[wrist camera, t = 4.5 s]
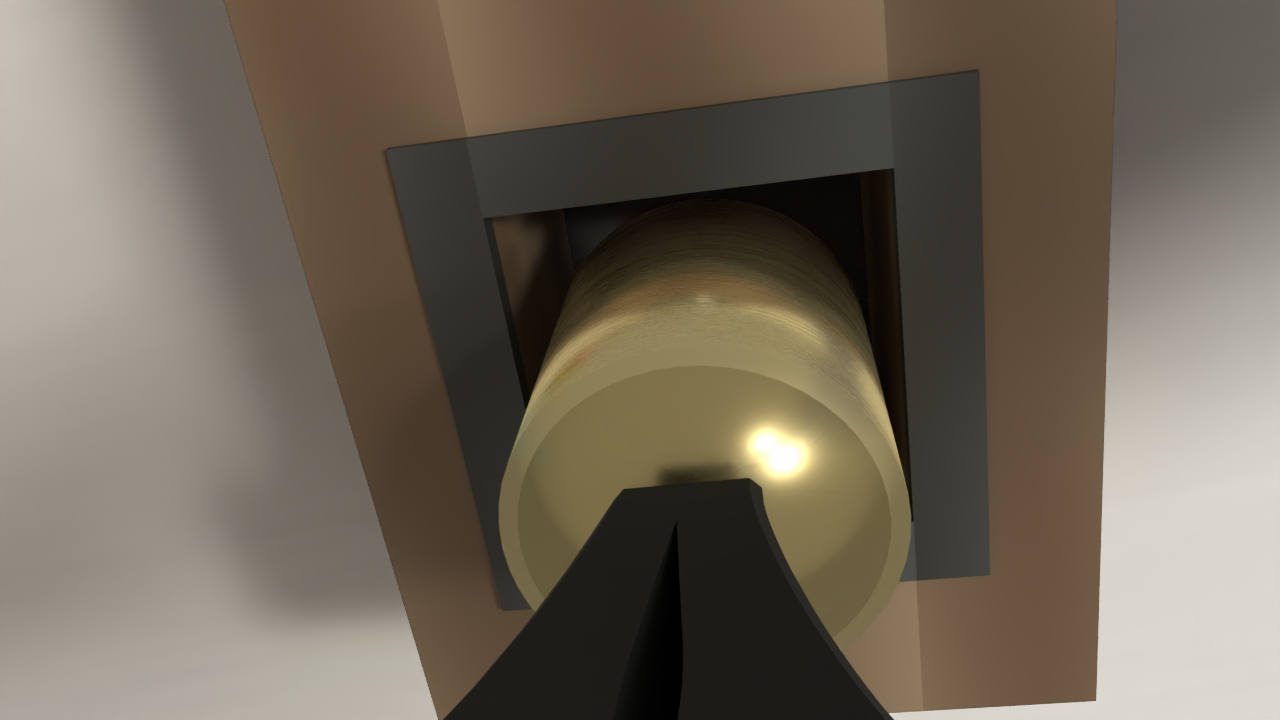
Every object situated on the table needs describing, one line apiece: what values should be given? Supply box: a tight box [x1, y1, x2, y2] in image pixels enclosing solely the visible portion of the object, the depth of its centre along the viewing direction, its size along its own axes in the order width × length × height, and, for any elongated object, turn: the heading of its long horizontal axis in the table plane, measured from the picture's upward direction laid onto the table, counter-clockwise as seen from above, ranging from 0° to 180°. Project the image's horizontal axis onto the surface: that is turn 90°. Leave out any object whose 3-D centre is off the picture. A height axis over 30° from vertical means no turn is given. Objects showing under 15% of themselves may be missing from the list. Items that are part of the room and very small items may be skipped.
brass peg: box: [499, 198, 911, 651], centre depth 13 cm, size 4×4×4 cm
